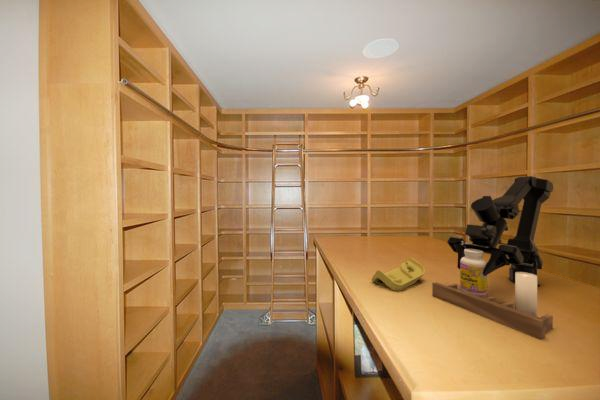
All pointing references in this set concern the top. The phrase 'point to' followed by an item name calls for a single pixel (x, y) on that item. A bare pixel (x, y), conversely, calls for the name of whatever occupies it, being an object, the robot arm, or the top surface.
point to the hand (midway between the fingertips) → (470, 271)
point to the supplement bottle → (473, 273)
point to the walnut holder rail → (495, 310)
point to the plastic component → (401, 275)
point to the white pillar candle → (526, 292)
